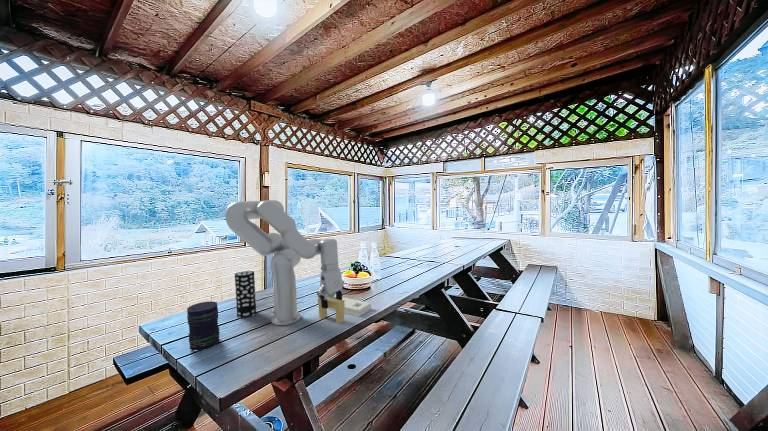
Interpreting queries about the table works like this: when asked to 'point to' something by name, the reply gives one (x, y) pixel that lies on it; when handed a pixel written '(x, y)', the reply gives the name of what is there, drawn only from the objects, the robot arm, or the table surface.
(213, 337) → the storage jar
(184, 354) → the table surface
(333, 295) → the cupcake
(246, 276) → the white-spotted black cylinder
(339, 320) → the yellow arch block
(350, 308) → the white slab with recess
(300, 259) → the robot arm
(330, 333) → the table surface
